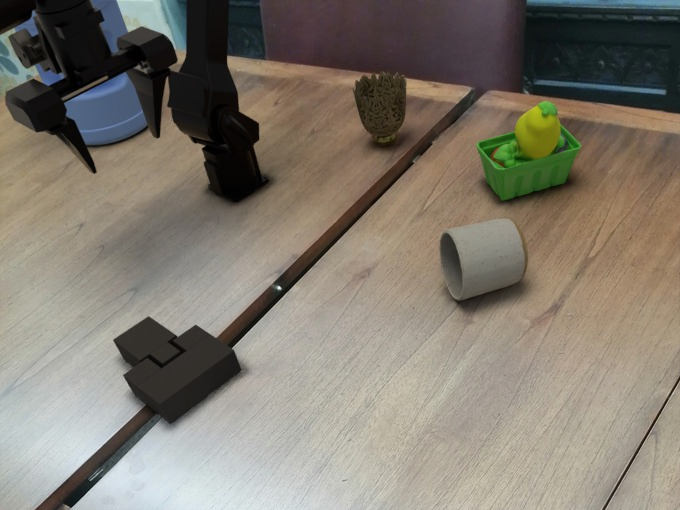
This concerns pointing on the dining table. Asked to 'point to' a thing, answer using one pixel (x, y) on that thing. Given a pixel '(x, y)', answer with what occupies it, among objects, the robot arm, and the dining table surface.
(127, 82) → the water jug
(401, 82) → the cup
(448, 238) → the ceramic mug
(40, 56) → the robot arm
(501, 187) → the fruit basket
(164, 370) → the base pad
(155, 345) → the black pad
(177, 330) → the dining table surface
